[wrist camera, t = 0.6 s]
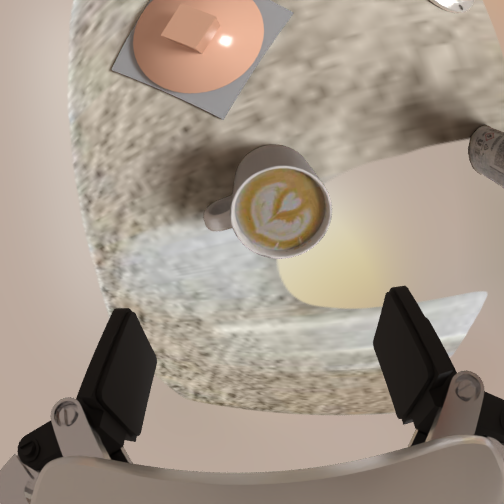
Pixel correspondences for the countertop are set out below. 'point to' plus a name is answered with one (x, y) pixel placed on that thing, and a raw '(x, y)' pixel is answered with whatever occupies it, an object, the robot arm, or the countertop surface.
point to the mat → (223, 97)
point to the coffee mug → (274, 204)
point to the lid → (197, 42)
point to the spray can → (488, 153)
